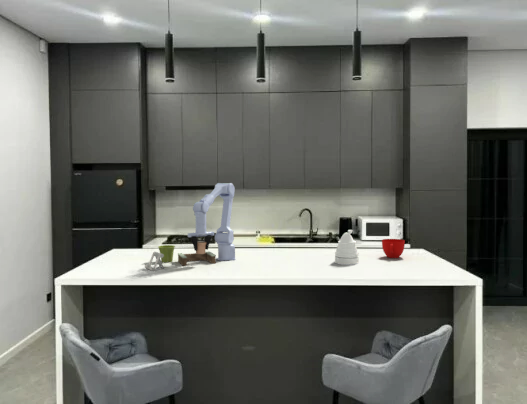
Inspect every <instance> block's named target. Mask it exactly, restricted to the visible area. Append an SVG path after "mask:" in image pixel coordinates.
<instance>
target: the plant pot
mask: <svg viewBox="0 0 527 404" xmlns="http://www.w3.org/2000/svg"><path fill="white" fill-rule="evenodd" d="M157 248H158V251H159V253H162V254H163V255H164V256H163V258H160V260H161V262H162V263H172V262H173V258H174V250H175V248H176V246H175V245H174V244H173V245H172V244H169V245H168V244H165V245H158V247H157Z"/></svg>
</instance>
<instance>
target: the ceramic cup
mask: <svg viewBox="0 0 527 404" xmlns="http://www.w3.org/2000/svg"><path fill="white" fill-rule="evenodd" d="M405 241H406V240H404V239H401V238H400V239H398V238H384V239H381V246H382V248H381V249H382V251H383V253H384V254H385V256H386V257H387V258H390V259H398V258H400V257H401V256H402V255H403V252H404V251H405V243H406V242H405Z"/></svg>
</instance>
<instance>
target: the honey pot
mask: <svg viewBox="0 0 527 404" xmlns="http://www.w3.org/2000/svg"><path fill="white" fill-rule="evenodd" d="M352 233H353V229H348V230H347V232H344V233H343V234H342V236H341V237H340V239H339V240H338V241H337V242H338V245H337V246H336V249H335V252H334V263H335V264H339V265H347V266H350V265H351V266H352V265H357V264H359V252H358V247H357V246H356V244H357V241H356V240H354V238H353V236H352V235H351V234H352Z"/></svg>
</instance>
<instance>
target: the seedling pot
mask: <svg viewBox="0 0 527 404" xmlns="http://www.w3.org/2000/svg"><path fill="white" fill-rule="evenodd" d="M206 243H207V242H205V240H198V241H197V251H195V253H197V254H205V252H206V249H205V248H206Z"/></svg>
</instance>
